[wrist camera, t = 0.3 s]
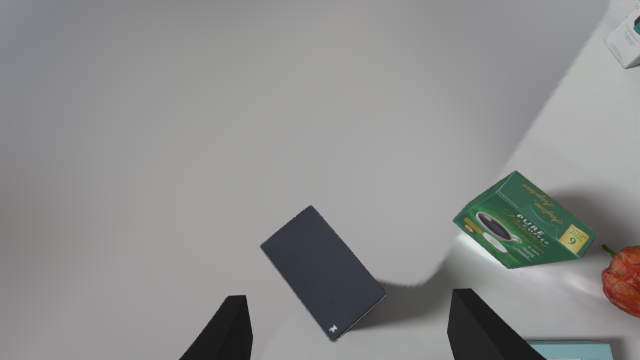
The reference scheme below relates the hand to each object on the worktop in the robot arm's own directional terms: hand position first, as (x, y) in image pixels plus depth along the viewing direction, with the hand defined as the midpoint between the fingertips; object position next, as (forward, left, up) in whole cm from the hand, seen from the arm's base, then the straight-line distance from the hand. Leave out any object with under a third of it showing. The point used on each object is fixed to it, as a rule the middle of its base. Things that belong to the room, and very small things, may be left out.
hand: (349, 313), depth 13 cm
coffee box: (+7, -16, -29) cm, 34 cm away
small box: (+3, +2, -29) cm, 29 cm away
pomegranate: (+2, -29, -29) cm, 41 cm away
